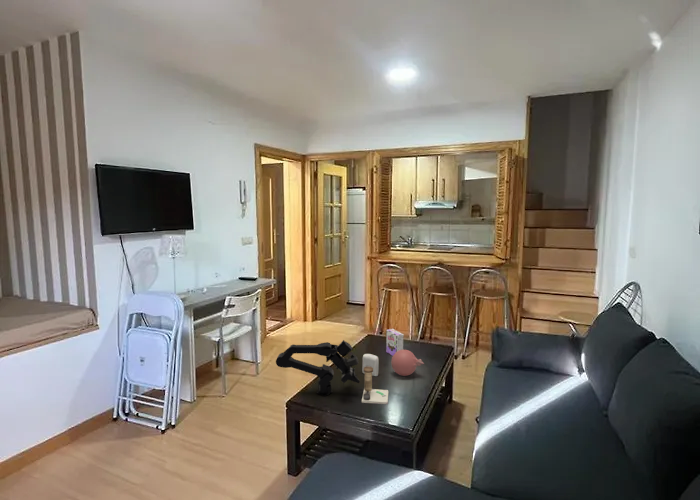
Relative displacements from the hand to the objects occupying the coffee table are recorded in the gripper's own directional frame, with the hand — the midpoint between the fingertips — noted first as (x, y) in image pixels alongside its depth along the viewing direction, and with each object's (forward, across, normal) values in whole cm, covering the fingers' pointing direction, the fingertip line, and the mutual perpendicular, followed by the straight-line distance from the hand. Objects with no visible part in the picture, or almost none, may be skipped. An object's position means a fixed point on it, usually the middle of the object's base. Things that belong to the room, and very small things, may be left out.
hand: (359, 382), depth 216 cm
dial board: (+11, -2, -2) cm, 11 cm away
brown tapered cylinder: (+7, -3, +1) cm, 8 cm away
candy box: (+18, +62, -8) cm, 65 cm away
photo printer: (+8, +28, +2) cm, 29 cm away
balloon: (+24, +28, -14) cm, 40 cm away
